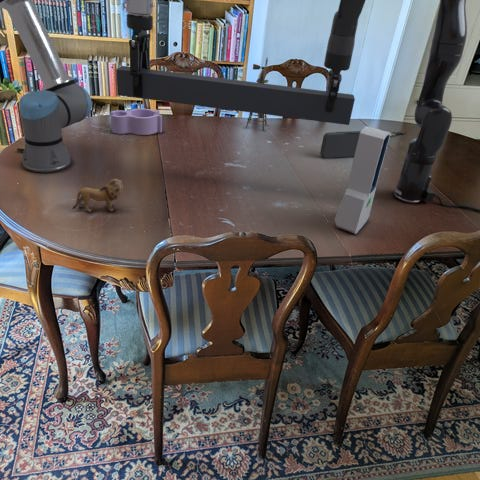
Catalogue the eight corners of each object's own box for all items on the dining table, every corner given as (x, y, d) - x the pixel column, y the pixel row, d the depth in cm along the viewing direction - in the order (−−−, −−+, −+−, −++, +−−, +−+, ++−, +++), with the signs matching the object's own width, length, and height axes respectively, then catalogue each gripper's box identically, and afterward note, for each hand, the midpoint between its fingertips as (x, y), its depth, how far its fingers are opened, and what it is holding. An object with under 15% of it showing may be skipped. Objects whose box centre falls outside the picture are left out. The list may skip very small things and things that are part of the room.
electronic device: (355, 236, 138) (381, 139, 122) (331, 227, 141) (354, 131, 125) (368, 219, 147) (394, 127, 131) (346, 211, 150) (369, 121, 134)
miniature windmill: (263, 130, 207) (272, 60, 191) (245, 127, 208) (252, 57, 192) (266, 124, 215) (275, 56, 199) (248, 121, 216) (256, 53, 200)
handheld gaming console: (367, 153, 195) (373, 130, 190) (371, 156, 193) (377, 132, 188) (318, 155, 188) (323, 131, 183) (321, 158, 186) (326, 134, 181)
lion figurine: (122, 202, 142) (121, 175, 137) (125, 210, 138) (124, 183, 133) (71, 206, 137) (68, 178, 132) (73, 215, 133) (69, 187, 128)
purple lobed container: (113, 135, 186) (112, 118, 182) (110, 125, 196) (109, 108, 192) (163, 134, 192) (163, 118, 189) (157, 124, 202) (157, 108, 198)
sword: (401, 131, 224) (402, 128, 223) (406, 133, 222) (407, 131, 221) (358, 142, 208) (358, 140, 207) (363, 145, 206) (363, 142, 205)
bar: (117, 95, 147) (116, 69, 143) (122, 91, 152) (121, 65, 147) (349, 125, 143) (354, 99, 139) (347, 120, 147) (353, 94, 143)
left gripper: (143, 19, 128) (143, 103, 141) (160, 11, 143) (159, 88, 156) (116, 16, 129) (119, 100, 141) (136, 8, 144) (137, 85, 156)
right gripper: (354, 57, 128) (341, 117, 138) (350, 47, 140) (339, 104, 150) (327, 54, 129) (316, 114, 138) (325, 45, 141) (315, 101, 150)
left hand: (140, 93), depth 149 cm, fingers closed on bar, 5 cm apart
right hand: (328, 108), depth 144 cm, fingers closed on bar, 5 cm apart
